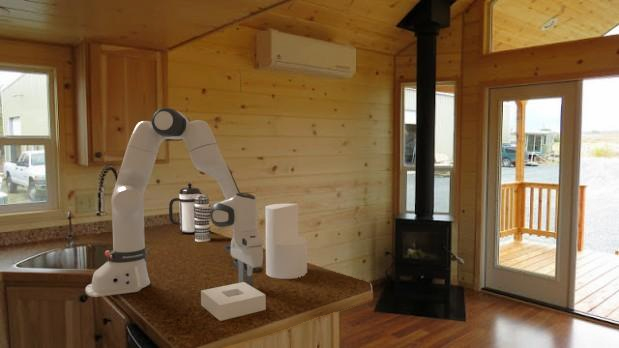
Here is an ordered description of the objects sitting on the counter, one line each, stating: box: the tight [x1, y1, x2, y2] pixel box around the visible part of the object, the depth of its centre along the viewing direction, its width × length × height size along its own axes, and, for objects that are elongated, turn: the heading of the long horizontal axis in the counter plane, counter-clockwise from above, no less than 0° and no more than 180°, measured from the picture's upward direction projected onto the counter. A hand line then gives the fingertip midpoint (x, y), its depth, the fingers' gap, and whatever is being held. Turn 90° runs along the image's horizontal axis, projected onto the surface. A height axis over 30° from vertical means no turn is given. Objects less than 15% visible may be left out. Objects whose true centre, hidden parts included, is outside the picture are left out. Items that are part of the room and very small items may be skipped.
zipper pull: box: [221, 244, 260, 273], centre depth 197 cm, size 9×7×25 cm
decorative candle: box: [194, 194, 212, 243], centre depth 245 cm, size 9×9×25 cm
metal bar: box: [237, 260, 254, 288], centre depth 165 cm, size 4×4×10 cm
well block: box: [200, 282, 267, 322], centre depth 147 cm, size 16×16×5 cm
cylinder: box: [264, 203, 308, 280], centre depth 185 cm, size 17×17×28 cm
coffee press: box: [168, 182, 203, 236], centre depth 263 cm, size 17×16×30 cm
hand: (245, 273), depth 165 cm, fingers closed on metal bar, 4 cm apart
